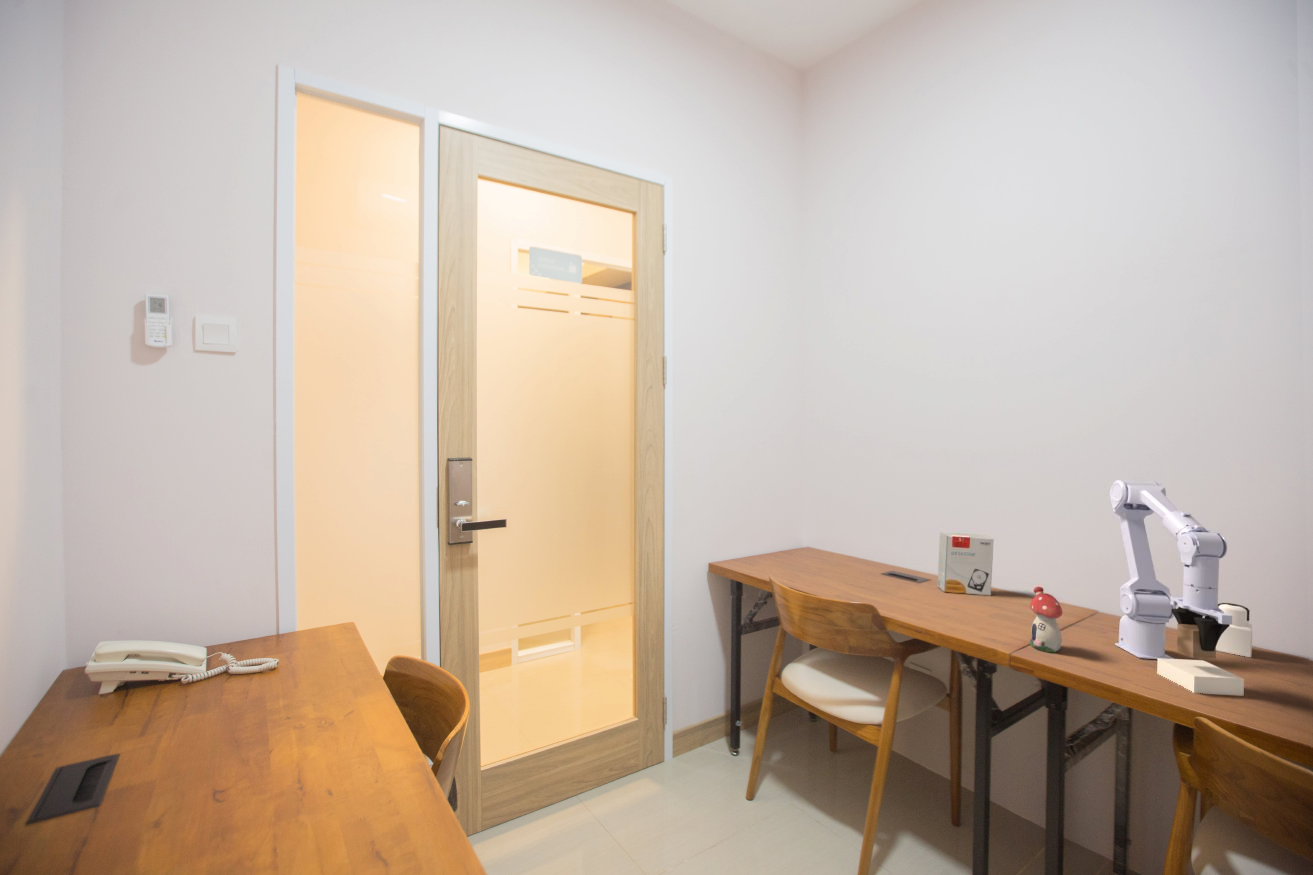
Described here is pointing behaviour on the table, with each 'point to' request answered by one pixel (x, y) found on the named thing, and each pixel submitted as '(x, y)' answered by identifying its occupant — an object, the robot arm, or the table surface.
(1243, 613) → the medicine bottle
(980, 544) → the hard drive box
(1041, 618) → the decorative ornament
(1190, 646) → the walnut block
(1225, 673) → the ceramic base
